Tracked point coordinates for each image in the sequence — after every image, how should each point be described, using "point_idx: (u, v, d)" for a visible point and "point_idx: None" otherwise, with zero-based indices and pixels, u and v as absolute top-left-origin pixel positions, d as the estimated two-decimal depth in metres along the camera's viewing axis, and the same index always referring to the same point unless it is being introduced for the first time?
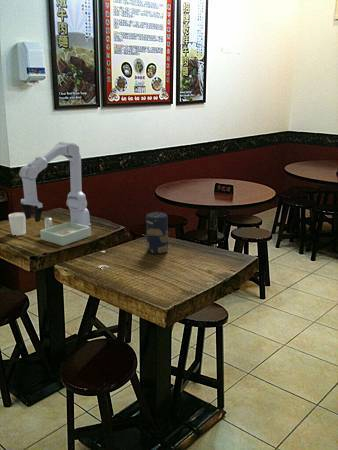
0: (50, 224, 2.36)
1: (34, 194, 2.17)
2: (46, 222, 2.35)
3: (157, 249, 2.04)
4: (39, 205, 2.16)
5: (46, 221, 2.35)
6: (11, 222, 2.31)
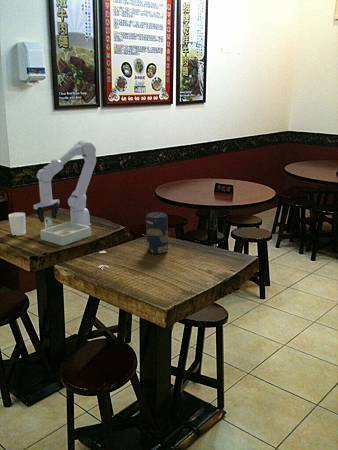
0: (50, 224, 2.36)
1: (41, 196, 2.30)
2: (46, 222, 2.35)
3: (157, 249, 2.04)
4: (34, 206, 2.29)
5: (46, 221, 2.35)
6: (11, 222, 2.31)
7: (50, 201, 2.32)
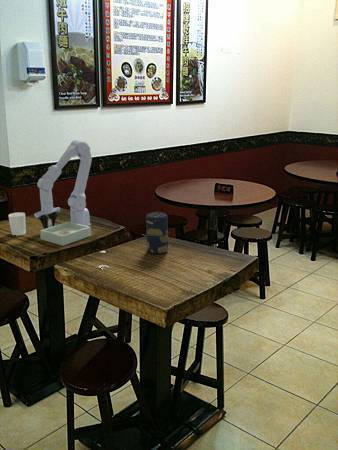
0: (50, 224, 2.36)
1: (42, 204, 2.32)
2: None
3: (157, 249, 2.04)
4: None
5: None
6: (11, 222, 2.31)
7: (51, 209, 2.33)
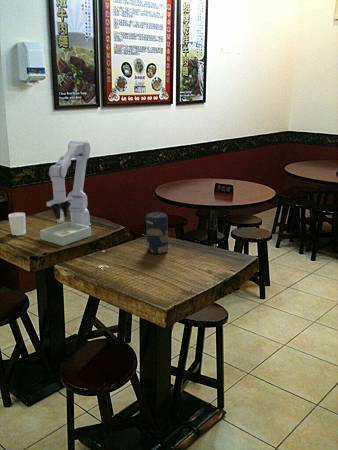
0: (62, 214, 2.27)
1: (54, 192, 2.22)
2: None
3: (157, 249, 2.04)
4: (47, 203, 2.21)
5: None
6: (11, 222, 2.31)
7: (63, 198, 2.24)
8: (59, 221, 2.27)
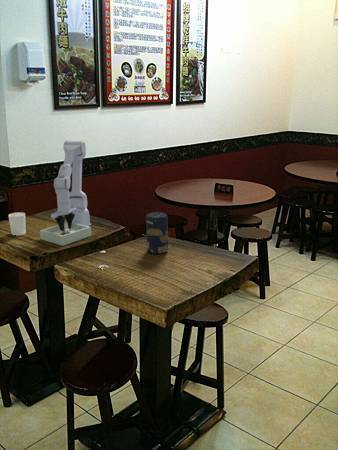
0: (66, 226, 2.27)
1: (59, 204, 2.22)
2: None
3: (157, 249, 2.04)
4: (51, 215, 2.20)
5: None
6: (11, 222, 2.31)
7: (68, 210, 2.24)
8: (63, 233, 2.27)
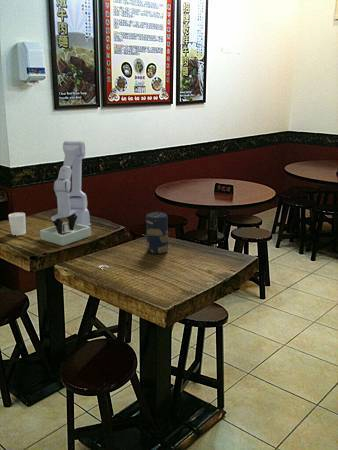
0: (67, 229, 2.27)
1: (59, 207, 2.22)
2: (63, 227, 2.26)
3: (157, 249, 2.04)
4: (51, 218, 2.21)
5: (63, 226, 2.26)
6: (11, 222, 2.31)
7: (68, 212, 2.24)
8: None
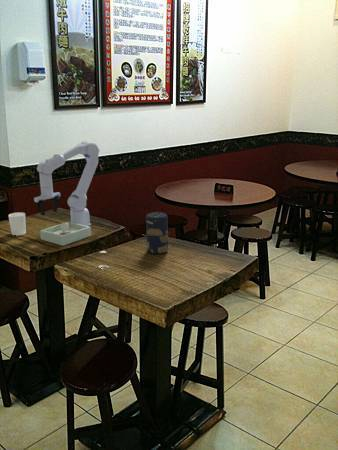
0: (67, 229, 2.27)
1: (42, 188, 2.29)
2: (62, 227, 2.26)
3: (157, 249, 2.04)
4: (34, 199, 2.27)
5: (62, 226, 2.26)
6: (11, 222, 2.31)
7: (51, 194, 2.30)
8: None
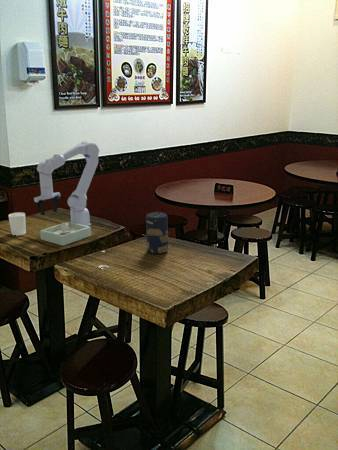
0: (66, 229, 2.27)
1: (42, 188, 2.29)
2: (62, 227, 2.26)
3: (157, 249, 2.04)
4: (34, 199, 2.27)
5: (62, 226, 2.26)
6: (11, 222, 2.31)
7: (51, 194, 2.30)
8: None
